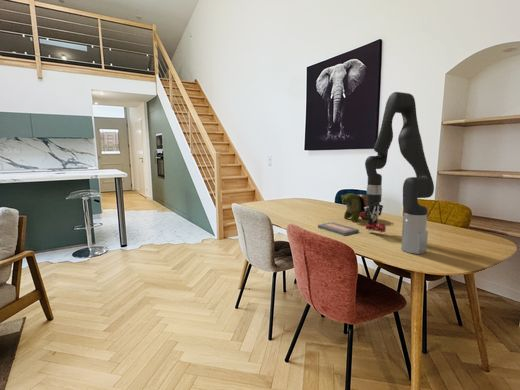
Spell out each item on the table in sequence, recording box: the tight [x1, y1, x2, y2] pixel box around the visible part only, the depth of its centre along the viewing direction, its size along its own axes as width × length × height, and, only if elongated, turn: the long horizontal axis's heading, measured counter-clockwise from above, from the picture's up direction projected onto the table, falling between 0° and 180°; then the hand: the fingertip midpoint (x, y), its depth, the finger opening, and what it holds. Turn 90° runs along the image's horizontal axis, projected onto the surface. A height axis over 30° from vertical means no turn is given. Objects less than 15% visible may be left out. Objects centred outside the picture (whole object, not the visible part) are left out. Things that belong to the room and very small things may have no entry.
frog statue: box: [340, 192, 368, 223], centre depth 185 cm, size 19×16×25 cm
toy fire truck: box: [360, 212, 387, 233], centre depth 155 cm, size 3×14×10 cm, turn 46°
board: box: [317, 221, 360, 236], centre depth 163 cm, size 20×12×2 cm, turn 32°
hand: (372, 223), depth 155 cm, fingers closed on toy fire truck, 3 cm apart
